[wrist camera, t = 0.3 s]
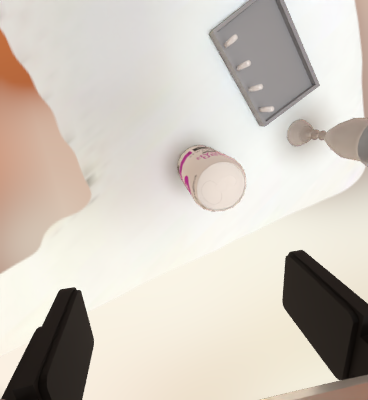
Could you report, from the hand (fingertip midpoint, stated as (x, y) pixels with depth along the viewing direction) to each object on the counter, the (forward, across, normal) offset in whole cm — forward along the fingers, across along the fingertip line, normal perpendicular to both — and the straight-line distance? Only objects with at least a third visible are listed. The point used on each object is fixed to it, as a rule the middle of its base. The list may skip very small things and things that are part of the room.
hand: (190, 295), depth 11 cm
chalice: (+37, -29, -2) cm, 47 cm away
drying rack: (+37, -21, -15) cm, 45 cm away
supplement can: (+37, -8, +2) cm, 38 cm away
